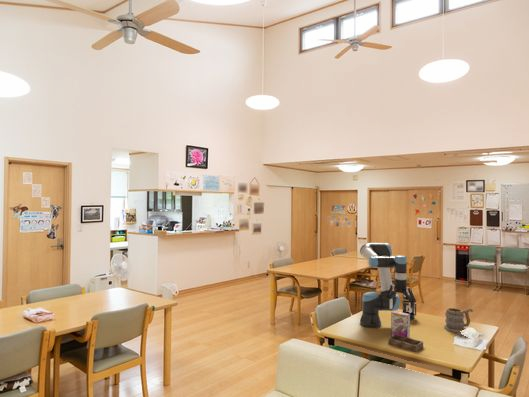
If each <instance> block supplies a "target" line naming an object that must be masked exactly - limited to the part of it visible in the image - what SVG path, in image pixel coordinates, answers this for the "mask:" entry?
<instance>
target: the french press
mask: <svg viewBox="0 0 529 397" xmlns="http://www.w3.org/2000/svg"><path fill="white" fill-rule="evenodd" d="M407 293H408V294H409V292H408V291H407ZM409 296H410V294H409ZM402 298H403V300H402V312H401V313H406V314H410V320H414V319H416V318H415V317H416V316H417V304H416V303H413V308H412V313H409V303H410V302H409V300H408V299H407V297H406V296H405V295H404V294H402Z"/></svg>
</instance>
